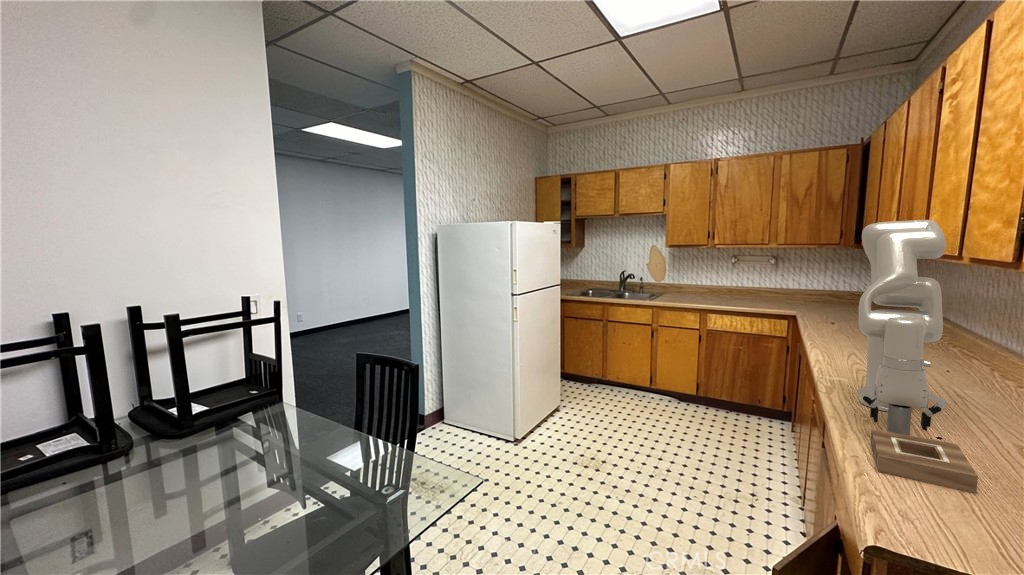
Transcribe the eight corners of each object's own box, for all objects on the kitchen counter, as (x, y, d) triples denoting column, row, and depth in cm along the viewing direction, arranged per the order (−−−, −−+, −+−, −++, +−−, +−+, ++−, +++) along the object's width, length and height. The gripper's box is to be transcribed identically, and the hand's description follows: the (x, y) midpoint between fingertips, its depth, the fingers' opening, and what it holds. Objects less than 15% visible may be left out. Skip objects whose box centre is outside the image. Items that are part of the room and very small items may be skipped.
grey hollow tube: (885, 434, 113) (887, 399, 112) (908, 439, 110) (910, 403, 109) (887, 441, 110) (889, 405, 109) (910, 446, 107) (912, 409, 106)
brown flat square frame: (870, 442, 110) (871, 428, 109) (956, 459, 100) (957, 443, 100) (877, 471, 97) (878, 455, 97) (976, 493, 88) (977, 475, 87)
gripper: (945, 364, 105) (941, 426, 107) (858, 355, 116) (856, 412, 118) (953, 372, 99) (948, 438, 101) (860, 362, 110) (858, 422, 112)
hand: (898, 424), depth 109 cm, fingers open, 9 cm apart
